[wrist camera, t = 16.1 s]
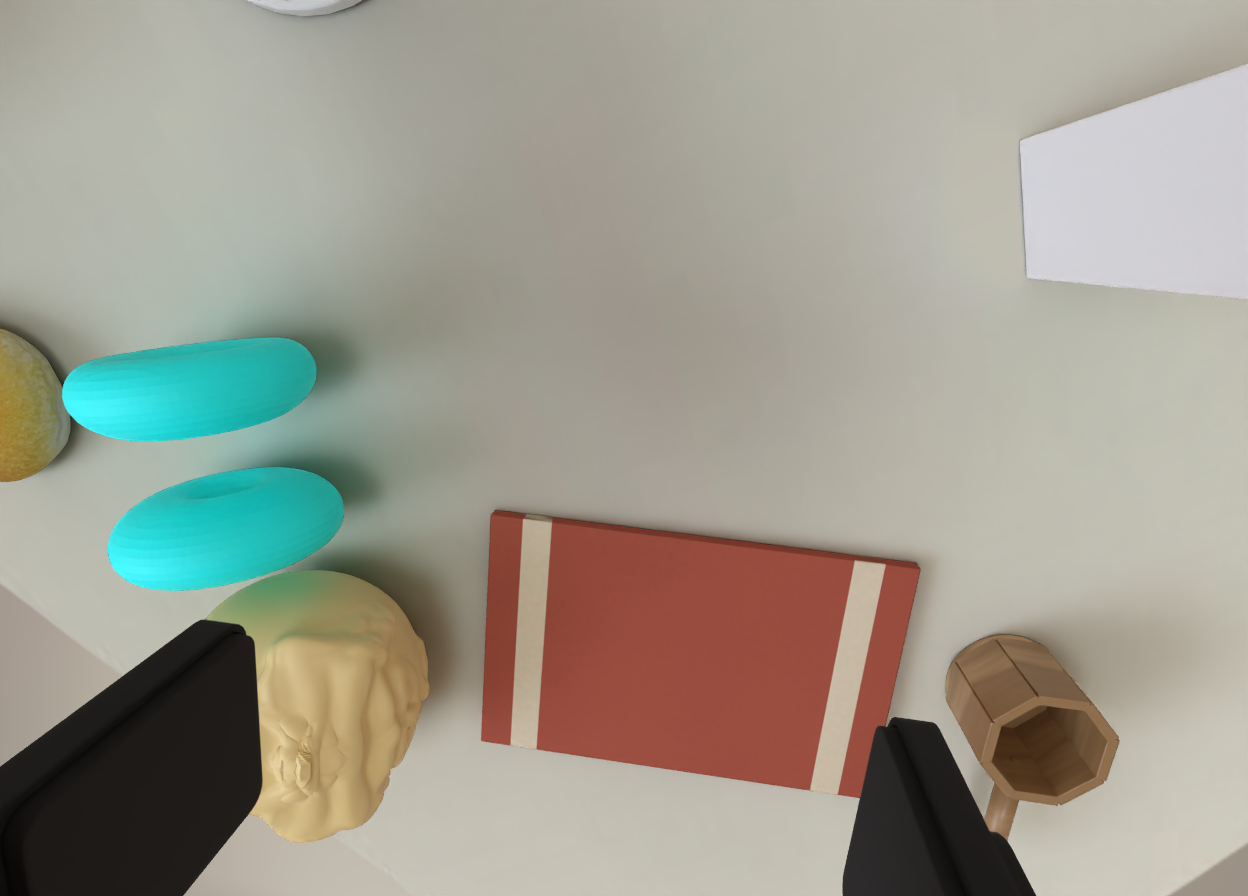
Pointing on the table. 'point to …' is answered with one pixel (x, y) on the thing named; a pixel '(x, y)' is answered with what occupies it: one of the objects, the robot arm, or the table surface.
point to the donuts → (220, 503)
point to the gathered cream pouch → (328, 696)
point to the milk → (1145, 193)
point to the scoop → (1027, 725)
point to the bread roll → (28, 410)
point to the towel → (691, 650)
